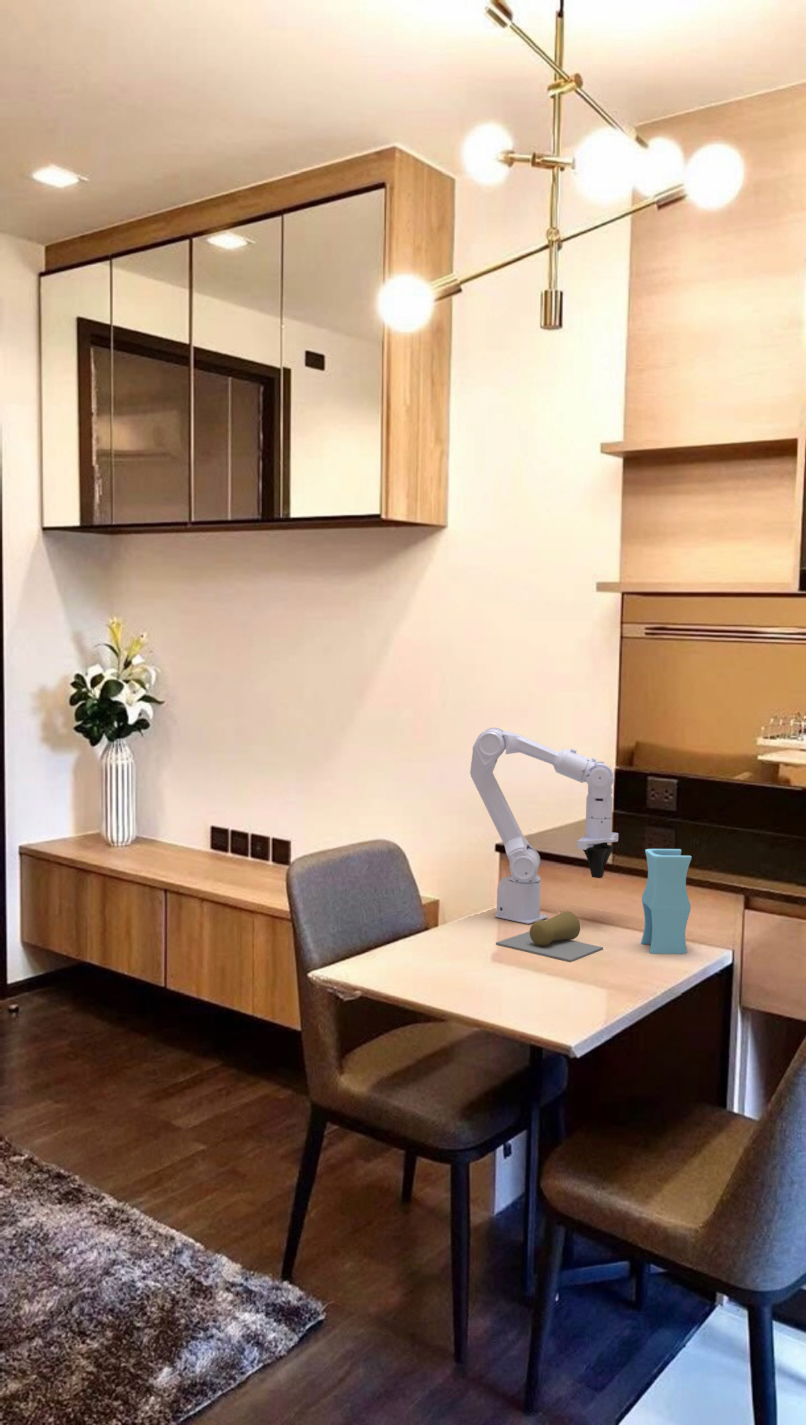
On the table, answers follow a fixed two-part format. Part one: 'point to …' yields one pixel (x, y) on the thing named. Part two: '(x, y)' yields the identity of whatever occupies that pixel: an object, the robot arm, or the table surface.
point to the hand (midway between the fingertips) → (597, 877)
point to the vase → (666, 901)
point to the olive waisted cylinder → (555, 929)
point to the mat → (551, 947)
